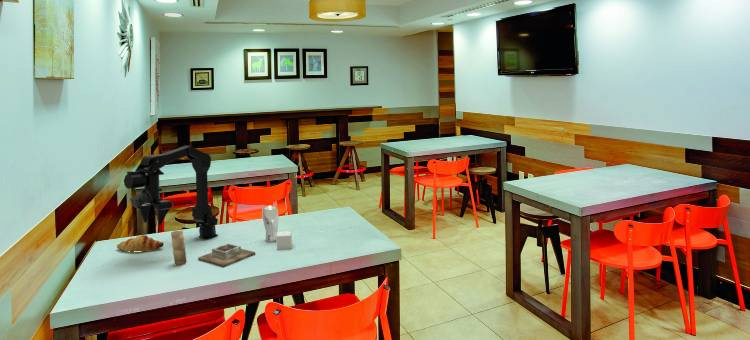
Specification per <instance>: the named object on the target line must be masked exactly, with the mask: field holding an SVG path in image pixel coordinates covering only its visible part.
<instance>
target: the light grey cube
mask: <svg viewBox="0 0 750 340" xmlns="http://www.w3.org/2000/svg"><path fill="white" fill-rule="evenodd" d="M292 237H293V236H292V230H290V231H286V230H285V231H278V232H277V236H276V239H277V241H276V250H279V251H281V250H289V249H290V250H292V248H293V240H292Z"/></svg>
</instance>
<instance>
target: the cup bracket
mask: <svg viewBox="0 0 750 340" xmlns="http://www.w3.org/2000/svg"><path fill="white" fill-rule="evenodd" d="M253 256H256V252H255V251H252V250H247V249H245V248H241V246H239V245H237V244H232V243H226V244H223V245H220V246H217V247H214V248H212V249H211V252H210V253H206V254H204V255H201V256H199V257H197V260H198V261H202V262H204V263H207V264H210V265H214V266H218V267H221V268H225V267H228V266H230V265H233V264H236V263H238V262H241V261H243V260H246V259H248V258H250V257H253Z"/></svg>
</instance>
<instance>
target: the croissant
mask: <svg viewBox="0 0 750 340" xmlns="http://www.w3.org/2000/svg"><path fill="white" fill-rule="evenodd" d="M163 247H164V241H160V240H155V239H153V237H149V236H148V235H146V234H141V235H138V236H136V237H132V238H128V239H127V240H124V241H121V242H119V243H118V244H116V248H117V249H118V250H120V249H121V250H120V251H122V250H124V251H123V252H125V251H130V252H134V251H145V252H148V251H147V250H152V251H156V250H160V249H161V248H163ZM155 249H156V250H155ZM130 252H129V253H130Z"/></svg>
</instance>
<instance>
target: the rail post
mask: <svg viewBox="0 0 750 340" xmlns="http://www.w3.org/2000/svg"><path fill="white" fill-rule="evenodd" d="M170 234H171V235H170V236H171V243H172V252H173V260H174V265H175V264H176V265H175V266H183V265H182V264H184V265H186V264H187V263H186V262H187V256H186V255H187V253H186V246H185V245H186V244H185V236H184V231H183V230H174V231H172V232H170ZM185 263H186V264H185Z"/></svg>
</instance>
